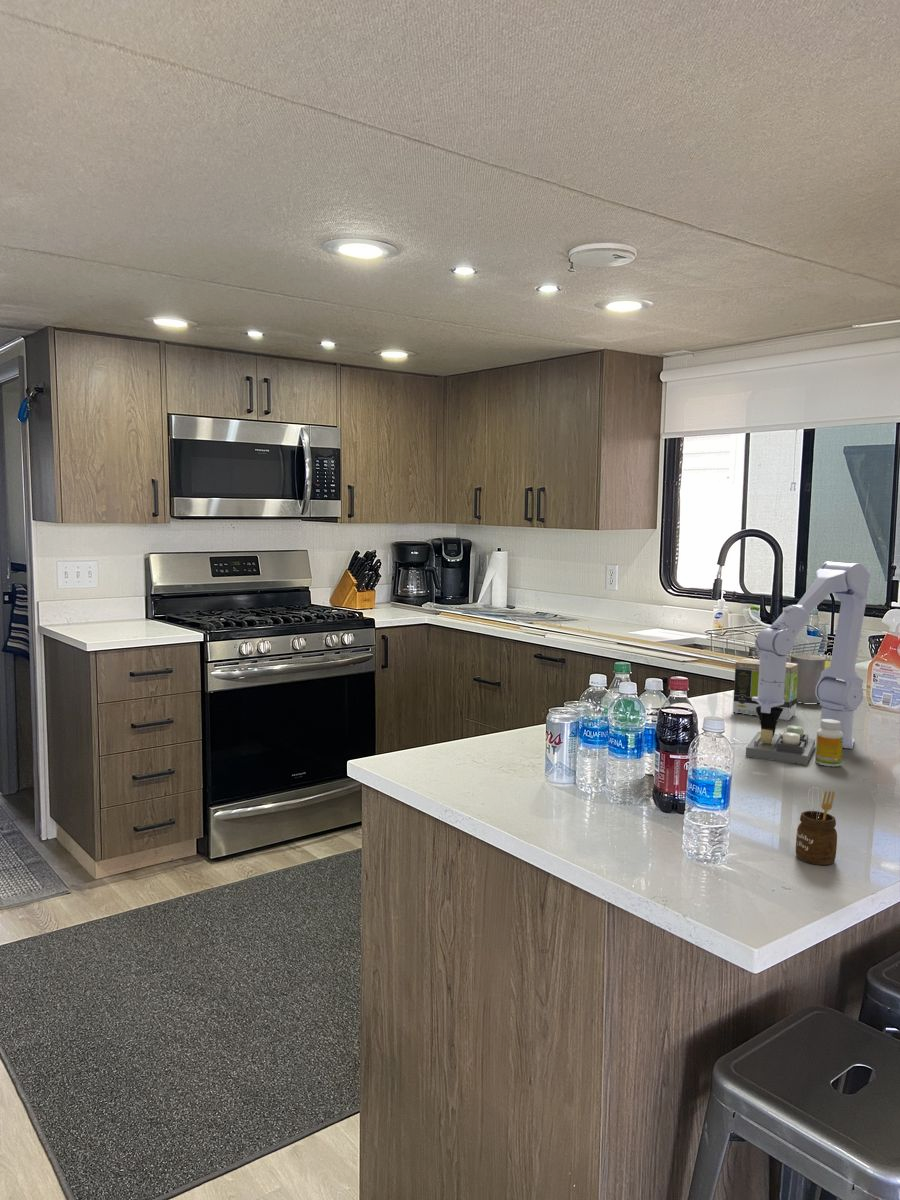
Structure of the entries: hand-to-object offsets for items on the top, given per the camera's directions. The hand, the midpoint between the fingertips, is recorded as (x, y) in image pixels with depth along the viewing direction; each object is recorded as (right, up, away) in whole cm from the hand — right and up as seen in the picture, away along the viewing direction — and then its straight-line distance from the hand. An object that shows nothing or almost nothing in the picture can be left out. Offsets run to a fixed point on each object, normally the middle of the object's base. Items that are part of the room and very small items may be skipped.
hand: (767, 738), depth 208 cm
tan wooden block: (-1, -1, -2) cm, 2 cm away
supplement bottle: (+10, -4, -9) cm, 14 cm away
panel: (+3, -3, 0) cm, 4 cm away
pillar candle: (+33, +1, +61) cm, 69 cm away
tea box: (+13, 0, +40) cm, 43 cm away
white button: (+3, 0, -6) cm, 7 cm away
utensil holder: (-16, -9, -67) cm, 69 cm away
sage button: (+7, 0, +1) cm, 7 cm away
